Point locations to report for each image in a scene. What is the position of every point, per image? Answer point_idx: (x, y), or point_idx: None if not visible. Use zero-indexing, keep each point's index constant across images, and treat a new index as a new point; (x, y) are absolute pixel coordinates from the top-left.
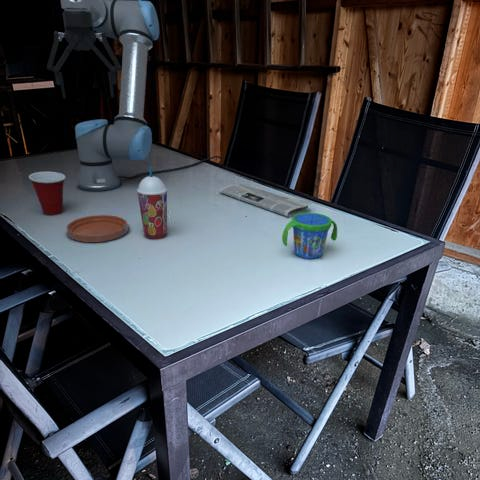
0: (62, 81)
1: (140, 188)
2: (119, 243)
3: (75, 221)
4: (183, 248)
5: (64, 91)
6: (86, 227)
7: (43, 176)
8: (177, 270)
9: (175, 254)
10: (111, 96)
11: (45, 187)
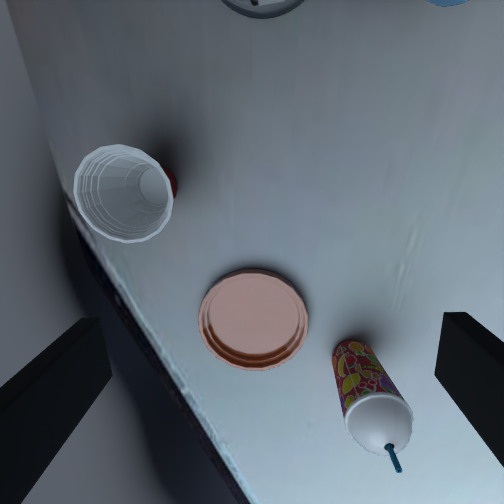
0: (30, 481)
1: (352, 435)
2: (285, 371)
3: (211, 294)
4: None
5: (86, 408)
6: (232, 297)
7: (108, 154)
8: (352, 466)
9: None
10: (438, 369)
11: (131, 231)
